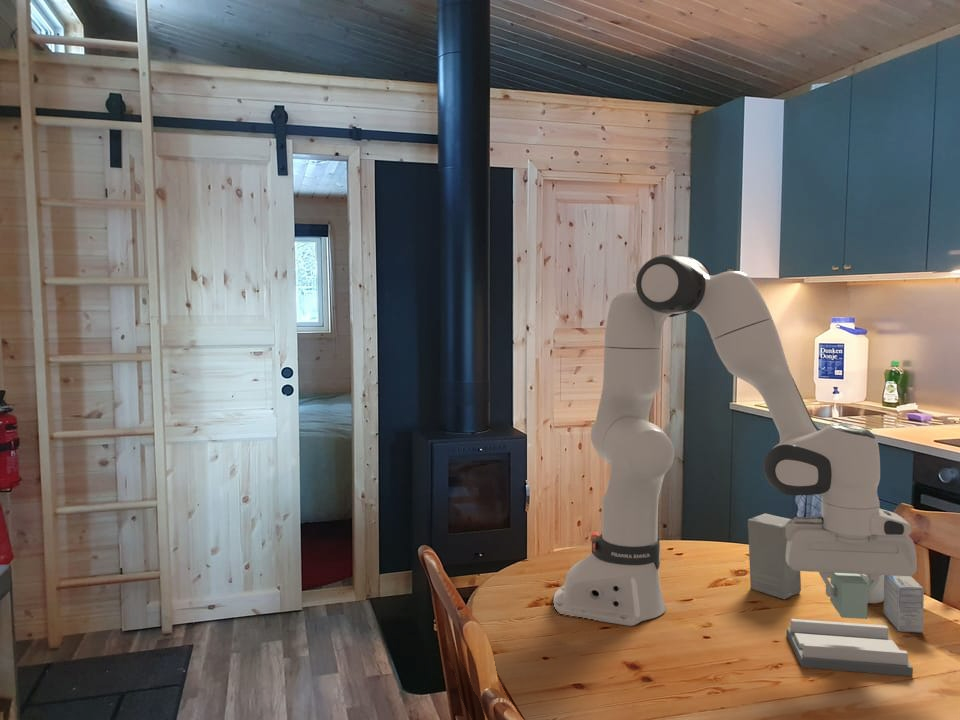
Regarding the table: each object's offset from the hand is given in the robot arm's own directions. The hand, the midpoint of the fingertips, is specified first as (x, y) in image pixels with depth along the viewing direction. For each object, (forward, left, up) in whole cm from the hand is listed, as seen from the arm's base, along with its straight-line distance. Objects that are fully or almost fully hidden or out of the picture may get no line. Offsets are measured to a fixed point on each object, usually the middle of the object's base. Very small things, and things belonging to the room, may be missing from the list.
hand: (848, 596), depth 125 cm
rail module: (0, 0, -2) cm, 2 cm away
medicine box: (+14, +15, -11) cm, 23 cm away
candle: (+11, +27, -11) cm, 31 cm away
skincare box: (-7, +27, -11) cm, 30 cm away
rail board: (0, 0, -10) cm, 10 cm away
